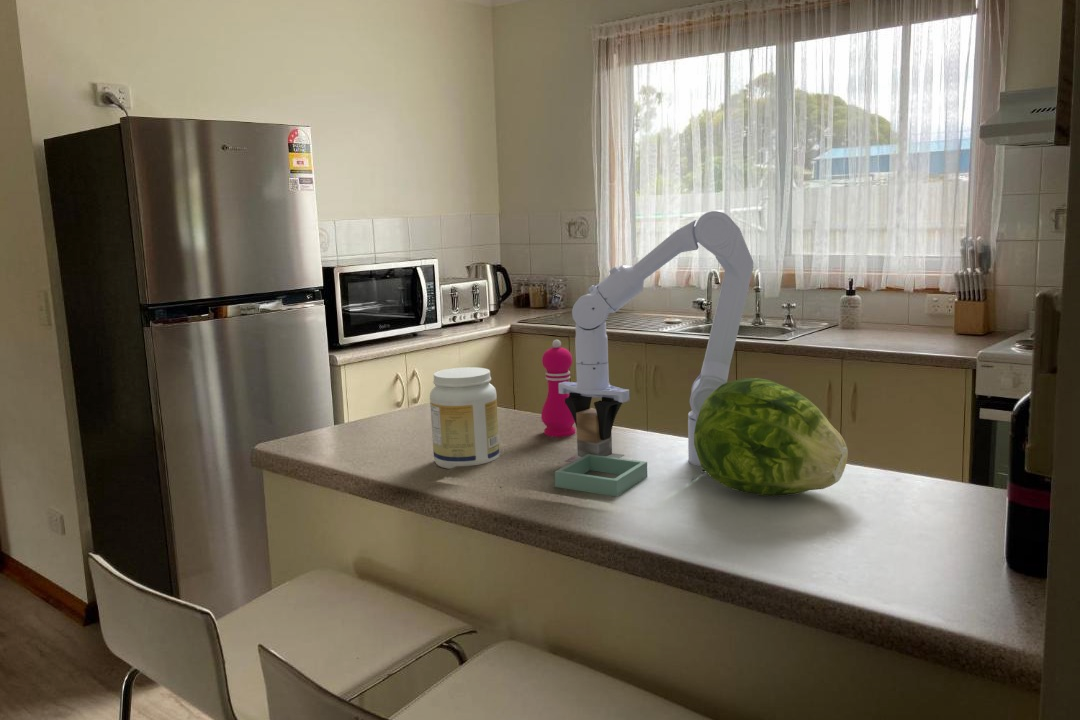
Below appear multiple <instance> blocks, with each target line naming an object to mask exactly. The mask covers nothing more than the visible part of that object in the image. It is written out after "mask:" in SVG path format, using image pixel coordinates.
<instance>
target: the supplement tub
mask: <svg viewBox="0 0 1080 720" xmlns="http://www.w3.org/2000/svg"><path fill="white" fill-rule="evenodd" d="M491 381H492V377H491V370H490V369H489V368H484V367H474V366H471V367H468V366H467V367H465V366H464V367H454V368H453V367H452V368H445V369H441V370H438V371H435V372H434V373H433V382H432V383H433V385H434V387H433V388H432V389H431V391H430V394H429V402H430V403H429V405H430V420H431V433H432V434H431V436H432V447H433V448H432V450H433V460H434V463H436V465H437V466H438V467H441V468H443V469H446V470H447V469H448V470H452V469H454V468H457V467H468V466H469V467H472V466H478V465H482V464H483V465H484V464H487V463H490V462H493V461H494V460H497V459H498V458H499V456H500V439H499V438H500V437H499V436H500V435H499V434H500V433H499V419H498V418H499V417H498V416H499V415H498V402H497V401H498V400H497V399H498V397H497V390H496V387H495V386H494V385H493V384H491V383H490V382H491Z"/></svg>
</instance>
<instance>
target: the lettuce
mask: <svg viewBox="0 0 1080 720" xmlns="http://www.w3.org/2000/svg"><path fill="white" fill-rule="evenodd" d="M694 446H695V449H696V452H697V455H698V458H699V461H700V464H701V466H700V467H702V470H705V471H706V473H707V474H708V476H709V477H710V478H711V479H713V480H715V481H716V482H718V483H719V484H721V485H722V486H724V487H726V488H729V489H731V490H735V491H738V492H741V493H744V494H750V495H751V494H752V495H757V496H766V497H781V496H790V495H798V494H802V493H805V492H808V491H817V490H824V489H826V488H829V487H831V486H833V485H835V484H836V483H839V481H840V480H841V479H842V477H843V473H844V472H845V468H846V466H847V462H848V458H849V457H848V454H849V450H848V449H849V448H848V446H847V443H846V441H845V440H844V438H843V436H842V435H841V433H840V432H839V431H838V430H837V429H836V428H835V427H834V426H833V425H832V423H830V421H829V420H828V418H827V416H826V415H825V414H824V412H822V410H820V409H819V407H817V405H815V404H814V403H813V402H812V401H811V400H810V399H808V398H807V397H806V396H804V395H803V394H801V393H799V391H798V392H797V391H795V390H794V389H791V388H790V387H788V386H786V385H784V384H781V383H779V382H776V381H774V380H769V379H764V378H760V377H755V378H753V377H751V378H750V377H749V378H747V377H746V378H740V379H739V378H738V379H735V380H732V381H727V383H725V384H722V385H721V386H720V387H718V388H717V389H716V390H715V391H713V392H712V393H711V394H710V395H709V396H708V398H707V399H706V400H705V402H704V404H703V406H702V408H701V410H700V412H699V415H698V418H697V421H696V426H695V432H694ZM705 471H704V472H705Z"/></svg>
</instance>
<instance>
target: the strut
mask: <svg viewBox="0 0 1080 720" xmlns="http://www.w3.org/2000/svg"><path fill="white" fill-rule="evenodd" d="M576 420H577V427H576V443H577V444H576V445H577V446H576V448H577V454H578V456H580V457H583V456H585V455H587V454H591V455H599V456H609V455H611V454H612V453H613V446H612V445H613V440H612V439H613V437H612V434H613V433H612V432H611V436H610V438H608V439H606V440H601V439H600V434H599V421H598V415H597V412H596V408H595V407H590V409H586V410H583V411H580V412H577V413H576Z"/></svg>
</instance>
